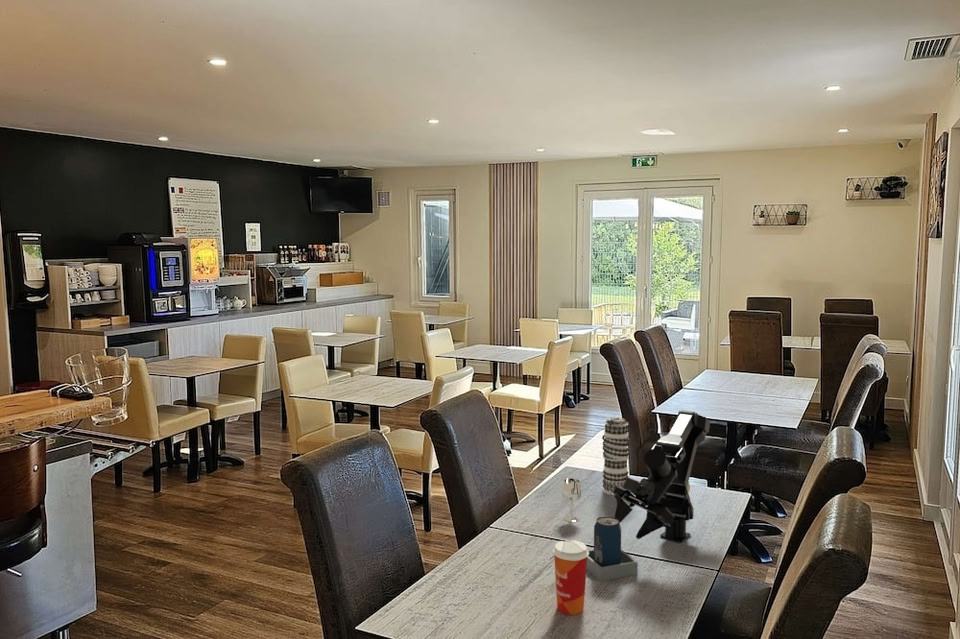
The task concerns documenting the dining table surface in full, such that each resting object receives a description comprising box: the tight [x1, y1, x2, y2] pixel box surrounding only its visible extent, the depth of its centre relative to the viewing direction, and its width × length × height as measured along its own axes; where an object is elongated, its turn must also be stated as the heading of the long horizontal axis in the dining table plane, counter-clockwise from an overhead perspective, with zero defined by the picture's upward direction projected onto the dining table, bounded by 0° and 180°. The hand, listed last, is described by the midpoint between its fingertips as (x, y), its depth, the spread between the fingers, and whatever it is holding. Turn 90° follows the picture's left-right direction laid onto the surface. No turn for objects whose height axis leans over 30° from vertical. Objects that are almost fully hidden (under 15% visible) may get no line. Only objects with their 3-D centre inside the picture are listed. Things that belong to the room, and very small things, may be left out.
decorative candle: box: [601, 416, 631, 496], centre depth 241 cm, size 9×9×25 cm
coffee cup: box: [552, 539, 589, 616], centre depth 165 cm, size 8×8×15 cm
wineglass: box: [561, 478, 582, 523], centre depth 218 cm, size 6×6×12 cm
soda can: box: [593, 515, 622, 567], centre depth 185 cm, size 7×7×12 cm
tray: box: [586, 548, 639, 582], centre depth 185 cm, size 11×11×3 cm
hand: (625, 531), depth 187 cm, fingers open, 9 cm apart
